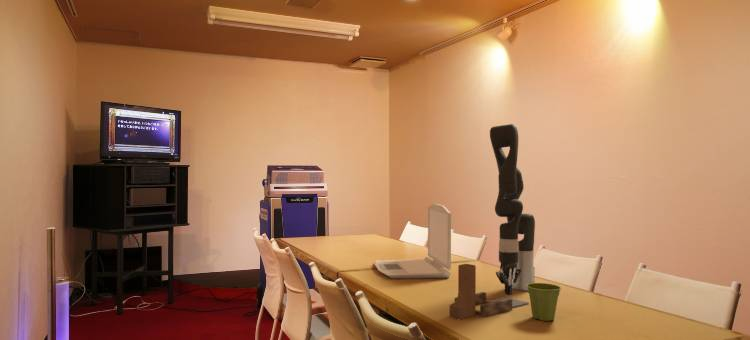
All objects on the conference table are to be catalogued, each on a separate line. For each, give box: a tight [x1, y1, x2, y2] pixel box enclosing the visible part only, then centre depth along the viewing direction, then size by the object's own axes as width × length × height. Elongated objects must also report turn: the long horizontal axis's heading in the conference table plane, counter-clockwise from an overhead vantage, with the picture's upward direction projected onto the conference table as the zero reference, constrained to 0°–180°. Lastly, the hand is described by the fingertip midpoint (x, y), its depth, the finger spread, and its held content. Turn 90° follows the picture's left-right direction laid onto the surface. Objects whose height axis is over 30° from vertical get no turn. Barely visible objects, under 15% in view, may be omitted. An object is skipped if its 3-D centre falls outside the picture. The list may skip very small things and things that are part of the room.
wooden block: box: [449, 263, 477, 320], centre depth 175 cm, size 9×4×18 cm, turn 128°
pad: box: [489, 296, 530, 309], centre depth 194 cm, size 10×11×1 cm
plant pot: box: [526, 282, 562, 322], centre depth 174 cm, size 12×12×11 cm
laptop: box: [374, 203, 452, 279], centre depth 256 cm, size 42×33×35 cm
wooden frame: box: [454, 291, 513, 318], centre depth 185 cm, size 16×14×4 cm
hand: (508, 294), depth 194 cm, fingers closed
